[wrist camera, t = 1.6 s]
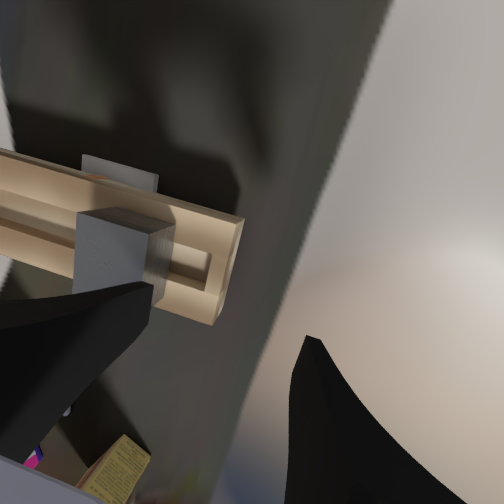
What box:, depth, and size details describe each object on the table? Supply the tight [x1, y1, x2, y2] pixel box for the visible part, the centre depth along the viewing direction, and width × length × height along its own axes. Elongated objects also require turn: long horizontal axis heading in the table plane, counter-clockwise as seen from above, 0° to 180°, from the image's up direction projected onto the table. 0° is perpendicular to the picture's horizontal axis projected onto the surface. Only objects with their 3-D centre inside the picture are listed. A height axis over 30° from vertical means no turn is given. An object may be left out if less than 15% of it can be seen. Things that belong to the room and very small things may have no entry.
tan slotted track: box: [0, 148, 245, 326], centre depth 20 cm, size 9×21×4 cm, turn 75°
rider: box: [72, 207, 176, 309], centre depth 16 cm, size 5×4×4 cm
